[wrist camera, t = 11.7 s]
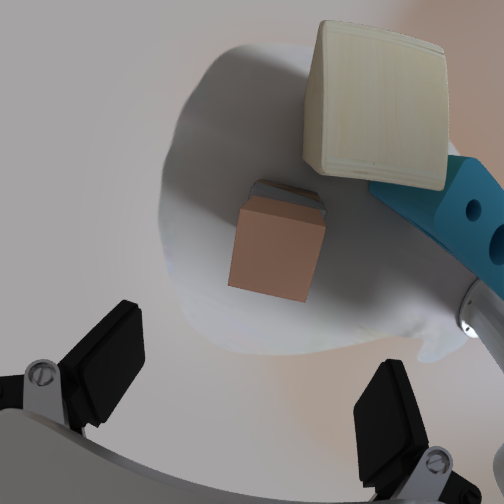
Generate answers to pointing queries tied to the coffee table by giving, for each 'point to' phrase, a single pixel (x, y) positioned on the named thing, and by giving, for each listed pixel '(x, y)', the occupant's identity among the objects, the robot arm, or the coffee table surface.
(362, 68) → the cream box
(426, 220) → the block
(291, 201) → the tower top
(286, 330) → the coffee table surface
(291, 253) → the terracotta cube
